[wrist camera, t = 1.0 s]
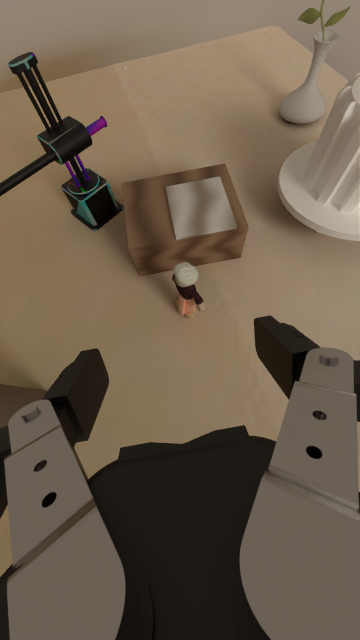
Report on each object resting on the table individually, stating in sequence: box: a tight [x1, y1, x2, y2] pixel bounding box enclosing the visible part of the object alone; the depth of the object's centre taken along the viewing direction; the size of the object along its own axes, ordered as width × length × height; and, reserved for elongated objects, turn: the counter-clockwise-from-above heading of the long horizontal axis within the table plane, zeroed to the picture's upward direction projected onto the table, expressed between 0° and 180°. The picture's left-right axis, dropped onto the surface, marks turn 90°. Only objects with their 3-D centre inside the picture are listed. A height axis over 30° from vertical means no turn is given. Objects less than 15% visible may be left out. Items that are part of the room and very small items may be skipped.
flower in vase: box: [279, 0, 350, 124], centre depth 48 cm, size 13×11×25 cm
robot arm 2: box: [0, 52, 123, 231], centre depth 40 cm, size 25×9×24 cm, turn 137°
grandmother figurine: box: [172, 262, 205, 318], centre depth 35 cm, size 8×4×13 cm, turn 49°
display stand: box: [122, 164, 249, 276], centre depth 44 cm, size 20×16×9 cm
